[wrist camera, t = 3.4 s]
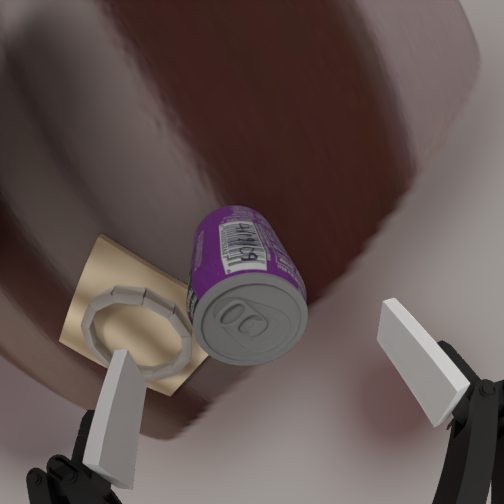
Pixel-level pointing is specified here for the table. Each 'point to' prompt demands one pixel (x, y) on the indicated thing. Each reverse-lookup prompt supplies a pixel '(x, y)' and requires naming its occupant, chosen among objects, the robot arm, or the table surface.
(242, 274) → the beverage can
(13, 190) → the table surface
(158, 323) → the ring board
